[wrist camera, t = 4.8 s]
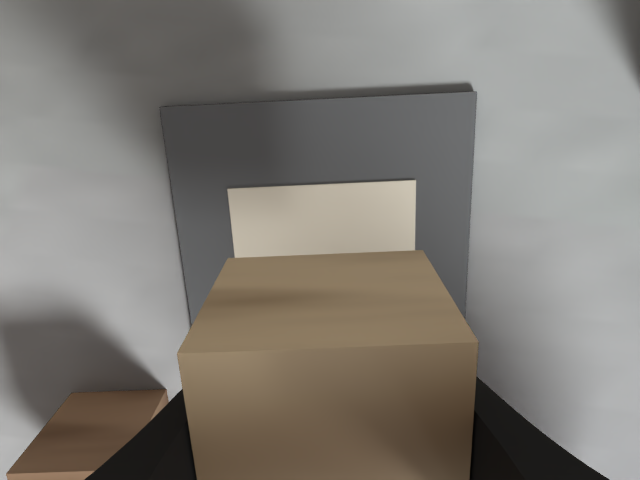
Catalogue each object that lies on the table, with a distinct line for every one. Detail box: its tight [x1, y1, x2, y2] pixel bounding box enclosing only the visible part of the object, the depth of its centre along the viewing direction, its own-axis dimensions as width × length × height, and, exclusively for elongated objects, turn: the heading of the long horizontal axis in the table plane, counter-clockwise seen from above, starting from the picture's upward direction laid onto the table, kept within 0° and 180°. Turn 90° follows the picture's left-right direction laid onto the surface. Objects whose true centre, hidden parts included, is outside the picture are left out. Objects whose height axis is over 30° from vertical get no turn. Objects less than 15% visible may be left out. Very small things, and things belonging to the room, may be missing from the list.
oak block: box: [177, 250, 479, 480], centre depth 12 cm, size 6×6×5 cm
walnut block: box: [6, 389, 169, 480], centre depth 21 cm, size 4×4×5 cm
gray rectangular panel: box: [160, 91, 477, 325], centre depth 20 cm, size 14×12×1 cm
